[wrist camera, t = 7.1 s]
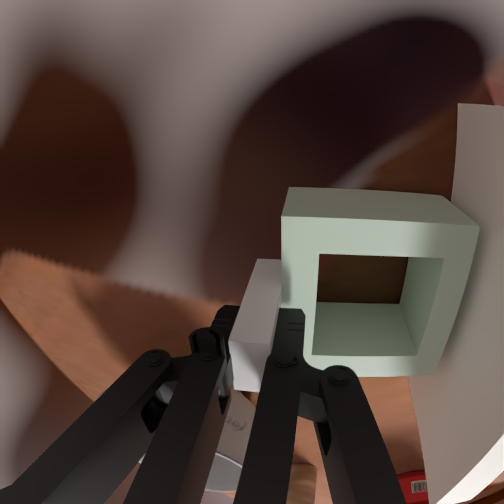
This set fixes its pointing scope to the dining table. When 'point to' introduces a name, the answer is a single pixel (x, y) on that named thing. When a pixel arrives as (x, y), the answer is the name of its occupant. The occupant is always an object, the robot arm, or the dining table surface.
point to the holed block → (377, 244)
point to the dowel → (302, 484)
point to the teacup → (230, 445)
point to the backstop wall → (470, 330)
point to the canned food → (414, 487)
